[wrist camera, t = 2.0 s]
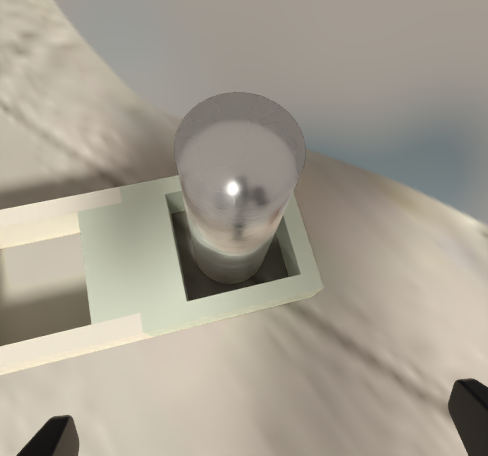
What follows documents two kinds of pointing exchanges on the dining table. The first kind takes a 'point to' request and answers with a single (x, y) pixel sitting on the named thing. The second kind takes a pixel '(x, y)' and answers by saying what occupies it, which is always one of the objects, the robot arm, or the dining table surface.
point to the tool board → (141, 269)
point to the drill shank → (236, 179)
